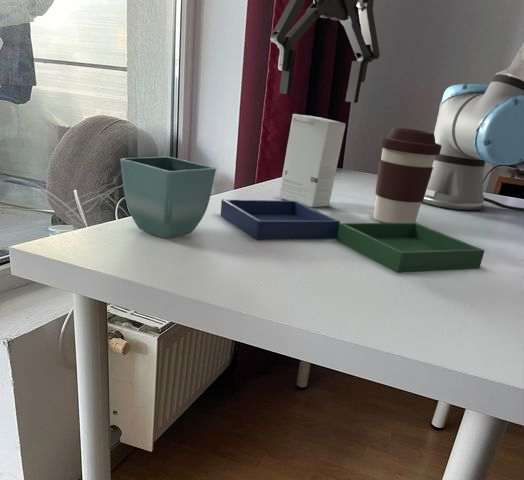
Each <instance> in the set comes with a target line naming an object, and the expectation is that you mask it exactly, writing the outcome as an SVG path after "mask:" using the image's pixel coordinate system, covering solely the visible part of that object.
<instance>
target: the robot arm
mask: <svg viewBox="0 0 524 480" xmlns="http://www.w3.org/2000/svg"><path fill="white" fill-rule="evenodd" d="M305 1H306V0H288V3H287V5H286V7H285V8H284V11H283V12H282V14H281V16H280V18H279V19H278V22H277V24H276V25H275V27H274V29H273V30H272V32H271V34H270V38H269V39H270V42H271V43H274V44H275V45H276V46H277V48H278V49H279V56H278V64H277V68H278V71H281V76H280V84H279V90H278V91H279V94H284V95H292V89H293V88H292V87H293V80H294V72H295V66H296V57H297V50H296V49H292V48H293V47H294V46H295V45H296V43H298V41H299V40H300V39H301V38H302V37H303V36H304V34H305V33H306V32H307V31H308V30H309V29H310V28H311V26H312V25H313V24H314V23H315V22H316V21H317V20H318V19H320V18H322V19H330V20H332V21H339V22H340V24H341V25H342V26H343V28H344V31H345V33H346V35H347V38H348V40H349V41H348V42H349V43H350V45H351V48H352V50H353V53H354V56H355V58H356V60H352V61H351V67H350V73H349V74H350V75H349V80H348V86H347V90H346V97H345V102H348V103H354V104H358V102H359V97H360V92H361V91H360V90H361V86H362V83H364V82H365V80H366V77H367V76H366V75H367V70H368V66H369V63H372V62H373V60H379V58H380V55H381V53H380V47H379V42H378V41H379V40H378V35H377V29H376V28H377V27H376V22H375V16H374V14H375V13H374V2H375V0H313V1H312V3H311V4H310V5H309V6H308V7H307V9H306V10H305V12H304V14H303V15H302V16H301V17H300V18H299V19H298V21H297V22H296V23H295V24H294V25H293V23H294V22H295V20H296V17H297V16H298V14H299V12H300V10H301V8H302V7H303V5H304V3H305ZM355 6H356V8H358V15H357V13H356V10H355ZM358 18H359V23H358ZM359 24H360V25H359ZM291 27H292V28H291ZM437 114H438V115H437V119H436V123H435V127H434V131H433V133H434V136H435V143H437V144H440V145H441V146H442V147H441V151H440V154H439V155H436V156H435V159H434V162H433V166H432V167H433V170H432V173H431V177H430V180H429V183H428V186H427V190H426V193H425V196H424V199H423V201H422V202H421V203H424V204H427V205H430V206H435V207H438V208H439V207H440V208H445V209H452V210H459V211H479V210H482V209H483V205H484V202H486V203H488V204H489V203H490V204H492V205H495V206H498V207H499V208H502V209H506V210H510V211H518V212H524V207H518V206H511V205H507V204H503V203H501V202H498V201H496V200H493V199H490V198H487V197H485V195H484V170H485V165H486V163H488V164H492V165H500V166H501V165H503V166H511V165H516V164H520V163H522V162H524V42H523V43H522V45H521V46H520V48H519V50H518V52H517V53H516V55H515V57H514V58H513V60H512V62H511V64H510V66H509V67H507V68H506V69H504V70H502V71H498V72H496V73H495V75H494V76H493V78H492V80H491V82H490V83H489V84H480V83H469V84H468V83H467V84H466V83H459V84H453V85H450V86H449V87H447V88H446V89H445V91H444V92H443V95H442V99H441V102H440V103H439V109H438V113H437Z"/></svg>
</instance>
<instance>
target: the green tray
mask: <svg viewBox="0 0 524 480" xmlns="http://www.w3.org/2000/svg"><path fill="white" fill-rule="evenodd" d="M335 240H336V242H338V243H340V244H342V245H344V246H346V247H347V248H348V249H349V248H350V249H351V250H353V251H355V252H357V253H359V254H361V255H363V256H365V257H366V258H368V259H371V260H372V261H374V262H376V263H378V264H380V265H381V266H384V267H386V268H387V269H389V270H391V271H393V272H395V273H398V274H400V273H401V274H404V273H421V272H422V273H424V272H440V271H442V272H443V271H462V270H479V269H481V264H482V261H483V258H484V255H485V249H483V248H480V247H479V246H478V247H477V246H476V245H472V244H470V243H467V242H466V241H462V240H460V239H457V238H455V237H453V236H450V235H448V234H445V233H442V232H440V231H438V230H435V229H432V228H430V227H427V226H424V225H422V224H420V223H417V222H415V223H383V222H340V223H339V229H338V235H337V239H335Z"/></svg>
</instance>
